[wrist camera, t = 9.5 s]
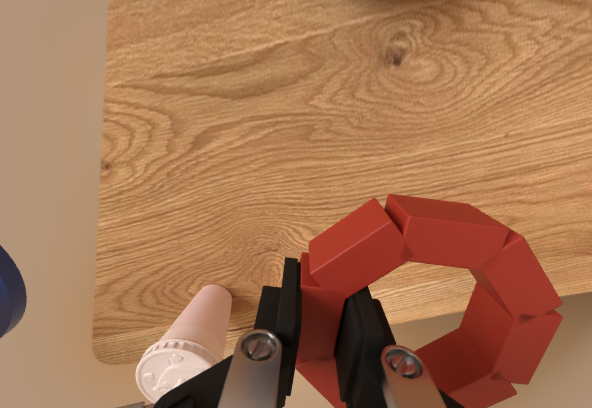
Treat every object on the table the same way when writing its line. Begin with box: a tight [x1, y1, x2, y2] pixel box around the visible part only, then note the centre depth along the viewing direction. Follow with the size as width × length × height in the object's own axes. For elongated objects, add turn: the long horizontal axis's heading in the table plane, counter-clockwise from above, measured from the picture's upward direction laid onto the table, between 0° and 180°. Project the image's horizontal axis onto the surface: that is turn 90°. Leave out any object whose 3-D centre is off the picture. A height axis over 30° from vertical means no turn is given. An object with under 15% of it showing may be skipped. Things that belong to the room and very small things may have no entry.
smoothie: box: [135, 284, 232, 403], centre depth 24 cm, size 6×6×14 cm
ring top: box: [295, 194, 563, 408], centre depth 12 cm, size 9×9×2 cm
